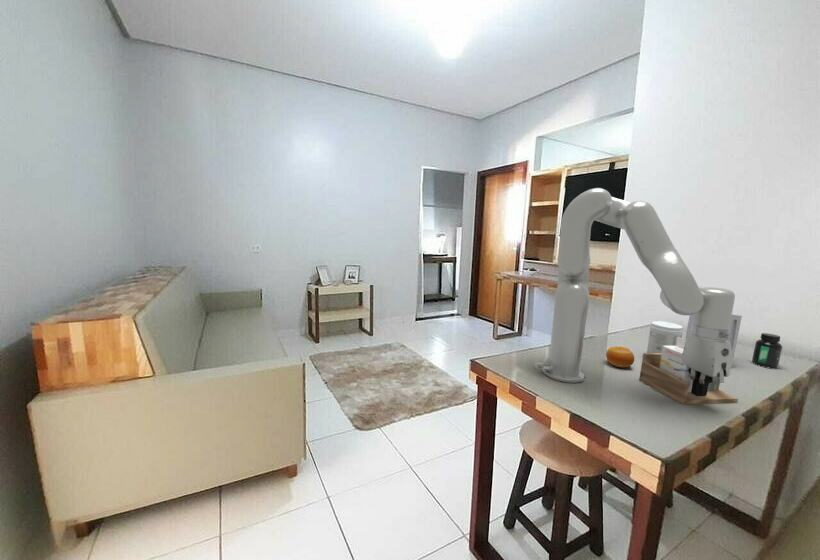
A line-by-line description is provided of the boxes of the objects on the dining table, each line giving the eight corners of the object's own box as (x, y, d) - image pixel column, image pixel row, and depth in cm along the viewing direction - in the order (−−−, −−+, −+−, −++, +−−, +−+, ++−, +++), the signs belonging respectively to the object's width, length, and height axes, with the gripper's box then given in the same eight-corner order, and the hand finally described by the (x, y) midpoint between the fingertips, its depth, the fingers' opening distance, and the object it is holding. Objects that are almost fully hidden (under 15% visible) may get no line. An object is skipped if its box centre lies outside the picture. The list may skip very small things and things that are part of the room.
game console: (711, 365, 122) (721, 313, 119) (683, 343, 147) (691, 300, 144) (731, 368, 120) (742, 315, 117) (700, 345, 145) (708, 301, 142)
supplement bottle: (763, 368, 121) (770, 337, 119) (746, 361, 128) (752, 331, 126) (783, 369, 121) (790, 338, 119) (765, 362, 127) (771, 332, 126)
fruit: (611, 349, 125) (617, 336, 119) (634, 363, 119) (642, 351, 114) (598, 361, 122) (604, 349, 116) (622, 377, 116) (629, 365, 111)
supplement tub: (669, 358, 127) (675, 322, 125) (682, 368, 118) (689, 329, 116) (641, 355, 129) (646, 319, 127) (651, 364, 120) (658, 326, 118)
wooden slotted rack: (682, 404, 92) (688, 366, 90) (639, 379, 107) (644, 347, 105) (737, 402, 94) (745, 366, 92) (688, 379, 109) (693, 347, 107)
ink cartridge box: (656, 380, 104) (662, 335, 102) (670, 380, 104) (676, 335, 103) (681, 393, 95) (688, 344, 94) (696, 392, 96) (704, 344, 94)
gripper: (751, 341, 83) (739, 408, 85) (695, 324, 98) (685, 382, 100) (725, 341, 82) (713, 409, 85) (672, 324, 97) (663, 383, 99)
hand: (698, 394), depth 92 cm, fingers closed
